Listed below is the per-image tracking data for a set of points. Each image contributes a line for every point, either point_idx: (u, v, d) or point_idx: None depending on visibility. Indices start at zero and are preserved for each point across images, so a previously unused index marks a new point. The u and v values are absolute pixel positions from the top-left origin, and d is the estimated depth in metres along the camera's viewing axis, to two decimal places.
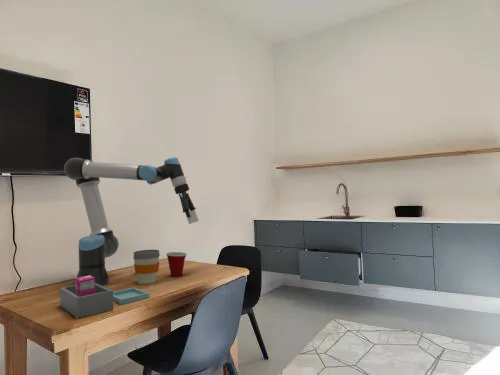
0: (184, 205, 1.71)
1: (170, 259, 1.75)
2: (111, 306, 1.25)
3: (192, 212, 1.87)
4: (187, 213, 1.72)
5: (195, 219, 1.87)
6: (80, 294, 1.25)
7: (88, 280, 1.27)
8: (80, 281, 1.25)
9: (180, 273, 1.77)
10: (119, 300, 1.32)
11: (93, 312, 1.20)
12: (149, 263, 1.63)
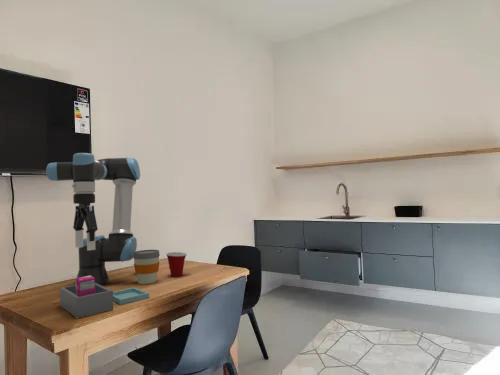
0: None
1: (170, 259, 1.75)
2: (111, 306, 1.25)
3: None
4: None
5: None
6: (80, 294, 1.25)
7: (88, 280, 1.27)
8: (80, 281, 1.25)
9: (180, 273, 1.77)
10: (119, 300, 1.32)
11: (93, 312, 1.20)
12: (149, 263, 1.63)
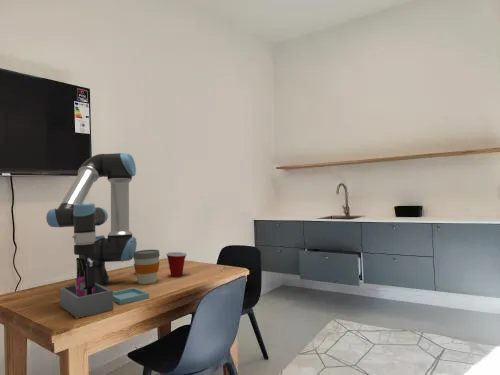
0: None
1: (170, 259, 1.75)
2: (111, 306, 1.25)
3: None
4: None
5: None
6: (80, 294, 1.25)
7: None
8: (80, 281, 1.25)
9: (180, 273, 1.77)
10: (119, 300, 1.32)
11: (93, 312, 1.20)
12: (149, 263, 1.63)
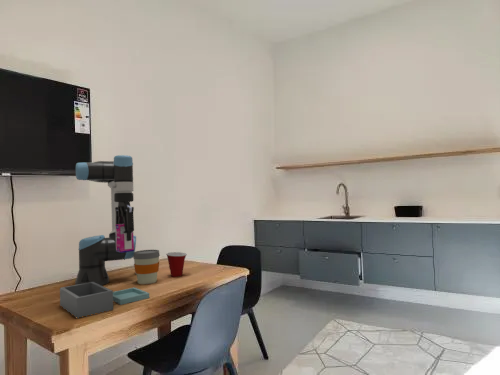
0: None
1: (170, 259, 1.75)
2: (111, 306, 1.25)
3: None
4: None
5: None
6: (120, 237, 1.37)
7: None
8: (120, 225, 1.37)
9: (180, 273, 1.77)
10: (119, 300, 1.32)
11: (93, 312, 1.20)
12: (149, 263, 1.63)
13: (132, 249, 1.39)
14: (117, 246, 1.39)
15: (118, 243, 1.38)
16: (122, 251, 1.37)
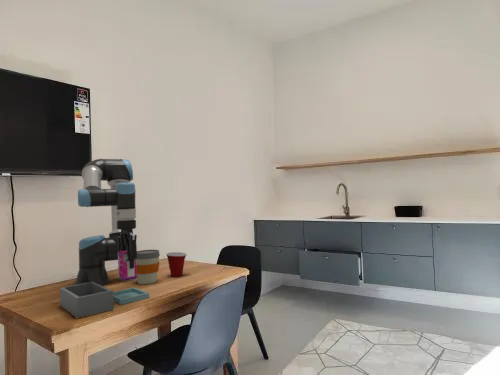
0: None
1: (170, 259, 1.75)
2: (111, 306, 1.25)
3: None
4: None
5: None
6: (123, 265, 1.37)
7: None
8: (123, 253, 1.37)
9: (180, 273, 1.77)
10: (119, 300, 1.32)
11: (93, 312, 1.20)
12: (149, 263, 1.63)
13: (135, 276, 1.39)
14: (120, 273, 1.39)
15: (121, 271, 1.38)
16: (125, 279, 1.37)
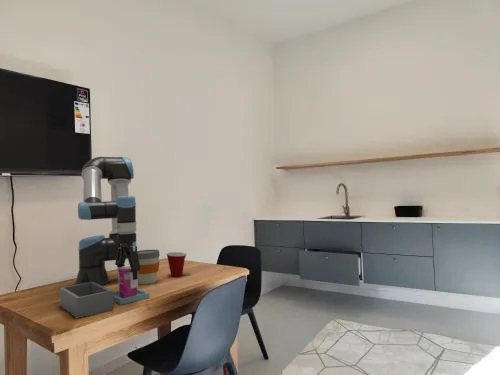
0: None
1: (170, 259, 1.75)
2: (111, 306, 1.25)
3: None
4: None
5: None
6: (124, 284, 1.37)
7: None
8: (124, 272, 1.37)
9: (180, 273, 1.77)
10: (119, 300, 1.32)
11: (93, 312, 1.20)
12: (149, 263, 1.63)
13: (135, 294, 1.40)
14: (120, 292, 1.39)
15: (122, 289, 1.38)
16: (125, 297, 1.37)
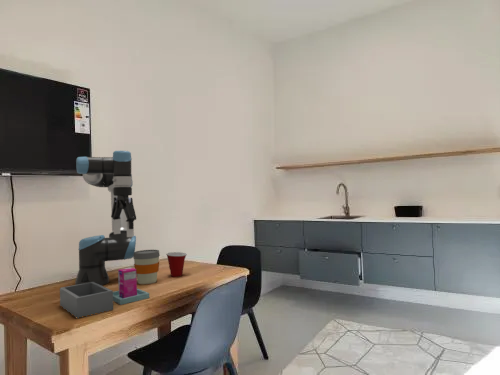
0: None
1: (170, 259, 1.75)
2: (111, 306, 1.25)
3: None
4: None
5: None
6: (124, 284, 1.37)
7: (130, 271, 1.39)
8: (124, 272, 1.37)
9: (180, 273, 1.77)
10: (119, 300, 1.32)
11: (93, 312, 1.20)
12: (149, 263, 1.63)
13: (135, 294, 1.40)
14: (120, 292, 1.39)
15: (122, 289, 1.38)
16: (125, 297, 1.37)
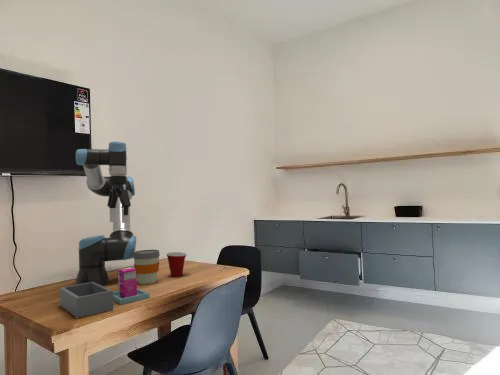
0: None
1: (170, 259, 1.75)
2: (111, 306, 1.25)
3: None
4: None
5: None
6: (124, 284, 1.37)
7: (130, 271, 1.39)
8: (124, 272, 1.37)
9: (180, 273, 1.77)
10: (119, 300, 1.32)
11: (93, 312, 1.20)
12: (149, 263, 1.63)
13: (135, 294, 1.40)
14: (120, 292, 1.39)
15: (122, 289, 1.38)
16: (125, 297, 1.37)
